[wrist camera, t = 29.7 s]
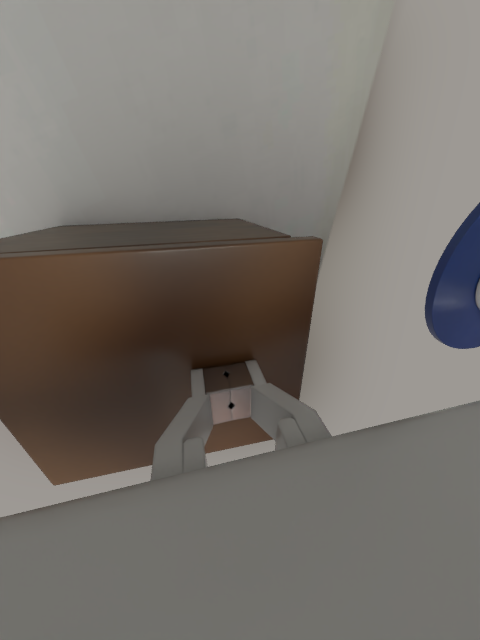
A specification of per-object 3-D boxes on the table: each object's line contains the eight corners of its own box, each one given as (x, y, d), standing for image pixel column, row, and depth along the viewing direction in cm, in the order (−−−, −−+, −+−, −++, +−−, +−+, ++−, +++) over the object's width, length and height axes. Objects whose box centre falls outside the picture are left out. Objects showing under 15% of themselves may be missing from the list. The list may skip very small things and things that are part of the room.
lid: (313, 235, 9) (324, 238, 8) (289, 424, 15) (294, 435, 14) (-95, 258, 7) (-127, 265, 6) (60, 470, 12) (52, 486, 12)
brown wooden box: (239, 218, 18) (291, 235, 9) (241, 341, 23) (275, 422, 15) (59, 225, 15) (-94, 258, 7) (110, 360, 21) (60, 469, 12)
